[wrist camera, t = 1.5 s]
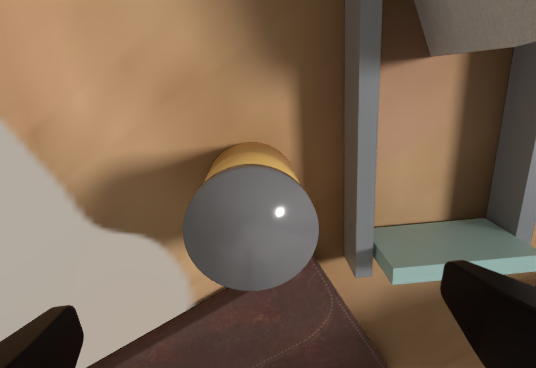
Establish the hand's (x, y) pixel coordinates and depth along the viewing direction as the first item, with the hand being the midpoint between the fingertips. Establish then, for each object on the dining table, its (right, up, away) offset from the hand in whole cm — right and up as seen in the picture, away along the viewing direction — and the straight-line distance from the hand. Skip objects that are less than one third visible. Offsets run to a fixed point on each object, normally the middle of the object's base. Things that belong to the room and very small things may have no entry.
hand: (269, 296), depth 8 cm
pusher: (+10, 0, +13) cm, 17 cm away
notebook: (-2, -12, +17) cm, 21 cm away
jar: (-1, +3, +12) cm, 12 cm away
